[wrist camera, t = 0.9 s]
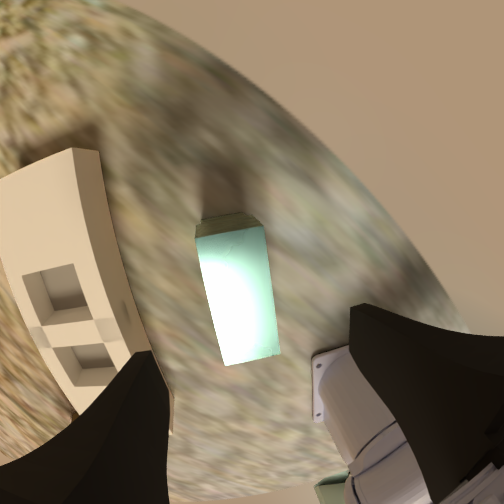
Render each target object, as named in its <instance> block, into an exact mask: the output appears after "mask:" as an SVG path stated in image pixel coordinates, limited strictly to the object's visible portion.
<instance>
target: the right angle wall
mask: <svg viewBox="0 0 504 504" xmlns="http://www.w3.org/2000/svg"><path fill="white" fill-rule="evenodd" d="M351 475H352V474H351V472H350V470H347V471H343V472H340V473H337V474H335V475H331V476H329V477H326V478H323V479H322V480H321V481H320V482H318V483H317V484H316V485H314V489H315V491H316V494H317V496H318V498H319V501H320V504H345V500H344V488H345V482H346V479H347V478H348V477H349V476H351Z"/></svg>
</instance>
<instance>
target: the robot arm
mask: <svg viewBox="0 0 504 504" xmlns="http://www.w3.org/2000/svg"><path fill="white" fill-rule="evenodd" d="M317 364H319V365H317ZM316 365H317V366H316ZM312 387H313V421H314V423H319V422H322V421H324V423H325V425H326V427H327V429H328V431H329V433H330V435H331V437H332V439H333V441H334V443H335V445H336V447H337V449H338V451H339V453H340V455H341V457H342V459H343V460H344V462H345V463H346V464H347V465H348V468H349V470H350V472H351V474H352V475H351V476H349V477H348V478H347V479H346V482H345V488H344V500H345V504H504V337H502V336H501V337H500V336H483V335H472V334H465V333H460V332H455V331H450V330H445V329H441V328H438V327H434V326H431V325H427V324H424V323H421V322H418V321H415V320H412V319H409V318H406V317H403V316H401V315H398V314H395V313H392V312H390V311H387V310H384V309H382V308H379V307H376V306H373V305H370V304H366V303H363V304H360V305H356V306H353V307H350V334H349V345H347V346H344V347H341V348H338V349H335V350H332V351H328V352H325V353H322V354H318V355H316V356H314V357H313V359H312ZM169 424H170V398H169V389H168V387H167V385H166V383H165V381H164V379H163V376H162V374H161V372H160V370H159V367H158V365H157V363H156V360H155V358H154V356H153V353H152V351H151V350H148V351H140V352H135V353H134V354H133V355H132V356H131V358H130V359H129V360H128V361H127V362H126V364H125V365H124V366H123V367H122V368H121V370H120V371H119V372H118V373H117V375H116V376H115V377H114V378H113V379H112V381H111V382H110V383H109V384H108V386H107V387H106V388H105V389H104V390H103V391H102V392H101V394H100V395H99V396H98V397H97V398H96V399H95V400H94V401H93V402H92V403H91V405H90V406H89V407H88V408H87V409H86V410H85V411H84V412H83V413H82V414H81V415H80V416H79V417H78V418H76V419H75V420H74V421H73V422H72V423H71V424H70V425H69V426H67V427H66V428H65V429H64V430H62V431H61V432H60V433H58V434H57V435H56V436H54V437H53V438H52V439H50V440H49V441H48V442H46V443H45V444H43V445H42V446H40V447H39V448H37V449H35V450H34V451H32V452H30V453H28V454H26V455H25V456H23V457H21V458H19V459H17V460H14V461H12V462H10V463H7V464H5V465H2V466H0V504H169V496H168V486H167V450H168V437H169Z"/></svg>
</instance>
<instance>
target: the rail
mask: <svg viewBox="0 0 504 504" xmlns="http://www.w3.org/2000/svg"><path fill="white" fill-rule="evenodd" d="M0 257H1V260H2V263H3V267H4V270H5V273H6V276H7V279H8V282H9V284H10V287H11V290H12V292H13V295H14V298H15V300H16V303H17V305H18V308H19V310H20V312H21V315H22V317H23V319H24V321H25V324H26V326H27V328H28V330H29V332H30V334H31V336H32V338H33V340H34V342H35V344H36V346H37V348H38V350H39V352H40V354H41V356H42V357H43V359H44V361H45V363H46V365H47V366H48V368H49V370H50V371H51V373H52V375H53V376H54V378H55V380H56V381H57V383H58V384H59V386H60V388H61V389H62V391H63V392H64V394H65V395H66V397H67V398H68V400H69V401H70V403H71V404H72V405H73V407H74V408H75V410H76V411H77V412H78V414H79V415H81V414H82V413H83V412H84V411H85V410H86V409H87V408H88V407H89V406H90V405H91V403H92V402H93V401H94V400H95V399H96V398H97V397H98V396H99V395H100V394H101V392H102V391H103V390H104V389H105V388H106V387H107V386H108V384H109V383H110V382H111V381H112V379H113V378H114V377H115V376H116V375H117V373H118V372H119V371H120V370H121V368H122V367H123V366H124V365H125V364H126V362H127V361H128V360H129V359H130V358H131V356H132V355H133V354H134V353H135V352H140V351H148V350H151V351H152V353H153V356H154V358H155V360H156V357H155V355H154V352H153V350H152V348H151V345H150V343H149V340H148V337H147V335H146V332H145V330H144V327H143V324H142V321H141V319H140V316H139V313H138V310H137V307H136V304H135V301H134V298H133V295H132V292H131V289H130V286H129V283H128V280H127V276H126V273H125V270H124V266H123V263H122V259H121V255H120V252H119V248H118V244H117V240H116V236H115V232H114V228H113V224H112V220H111V215H110V211H109V206H108V201H107V196H106V191H105V186H104V180H103V175H102V169H101V162H100V156H99V151H95V150H88V149H81V148H73V147H71V148H69V149H66V150H64V151H61V152H58V153H56V154H53V155H51V156H49V157H46V158H44V159H41V160H39V161H37V162H35V163H32V164H30V165H28V166H26V167H24V168H21V169H19V170H17V171H15V172H13V173H11V174H9V175H7V176H5V177H3V178H1V179H0ZM156 363H157V365H158V367H159V364H158V362H157V360H156ZM159 370H160V372H161V374H162V371H161V369H160V367H159ZM162 376H163V374H162ZM163 379H164V381H165V383H166V380H165V378H164V376H163ZM166 385H167V383H166ZM167 387H168V385H167ZM168 389H169V387H168ZM169 398H170V424H169V435H172V434H173V416H174V398H173V396H172V393H171V391H170V389H169Z"/></svg>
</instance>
